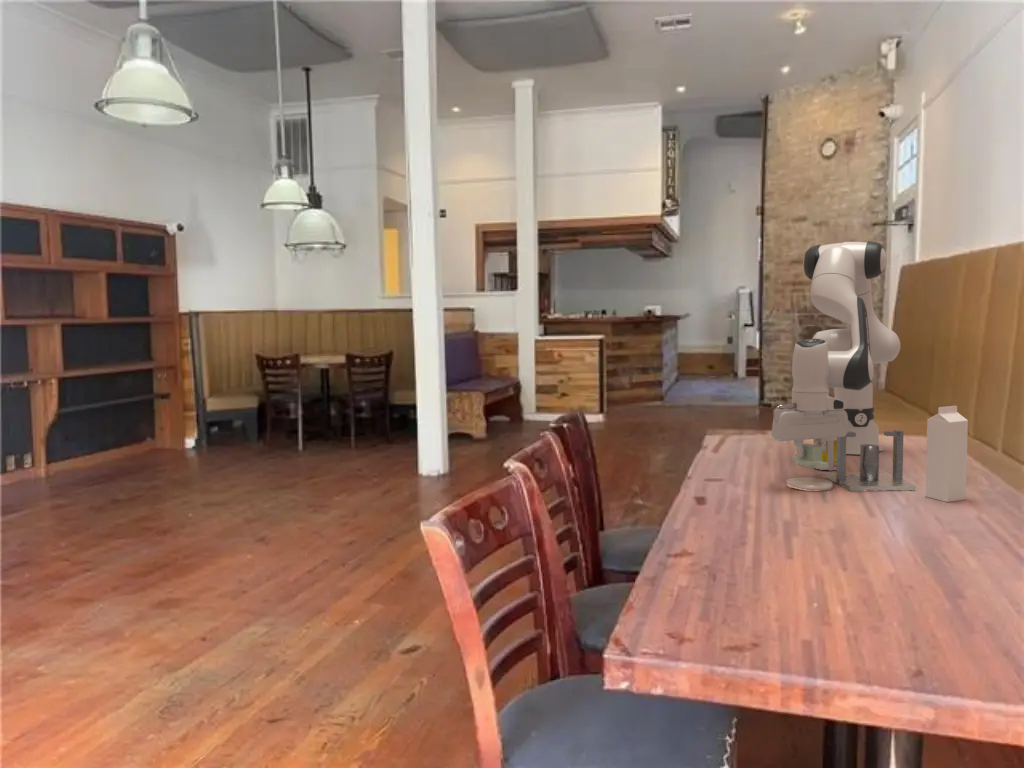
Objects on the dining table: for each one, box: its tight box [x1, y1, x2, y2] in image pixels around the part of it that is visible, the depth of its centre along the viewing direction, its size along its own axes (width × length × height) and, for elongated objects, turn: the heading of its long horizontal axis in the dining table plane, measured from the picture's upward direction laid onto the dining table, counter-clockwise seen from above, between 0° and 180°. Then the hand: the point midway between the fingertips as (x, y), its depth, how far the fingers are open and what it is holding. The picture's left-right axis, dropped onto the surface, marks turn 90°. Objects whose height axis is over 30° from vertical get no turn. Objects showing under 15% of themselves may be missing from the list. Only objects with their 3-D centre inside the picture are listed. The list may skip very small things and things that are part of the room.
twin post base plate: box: [825, 429, 917, 492], centre depth 193 cm, size 16×16×14 cm
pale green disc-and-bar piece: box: [791, 443, 828, 468], centre depth 192 cm, size 6×11×5 cm, turn 19°
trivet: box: [786, 476, 834, 492], centre depth 193 cm, size 11×11×1 cm
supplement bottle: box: [813, 438, 837, 472], centre depth 212 cm, size 7×7×13 cm
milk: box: [925, 405, 969, 503], centre depth 177 cm, size 6×6×22 cm
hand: (809, 456), depth 192 cm, fingers closed on pale green disc-and-bar piece, 3 cm apart
